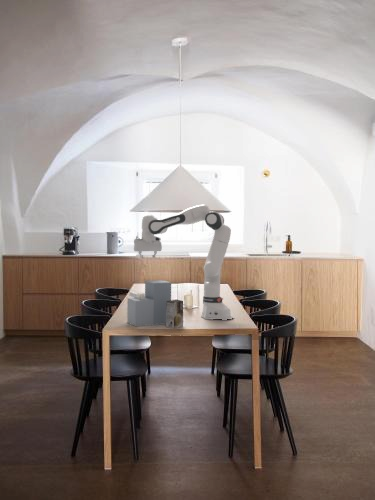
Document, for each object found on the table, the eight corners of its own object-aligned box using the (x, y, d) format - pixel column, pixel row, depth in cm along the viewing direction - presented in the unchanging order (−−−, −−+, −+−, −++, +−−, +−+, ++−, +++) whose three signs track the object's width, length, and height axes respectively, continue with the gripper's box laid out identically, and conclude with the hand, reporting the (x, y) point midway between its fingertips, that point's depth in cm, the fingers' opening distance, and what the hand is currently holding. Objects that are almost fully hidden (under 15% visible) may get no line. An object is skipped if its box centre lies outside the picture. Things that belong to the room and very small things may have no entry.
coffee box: (175, 324, 305) (175, 299, 304) (183, 326, 301) (183, 300, 300) (165, 327, 298) (166, 300, 297) (173, 328, 293) (174, 301, 293)
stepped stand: (127, 322, 311) (127, 281, 310) (161, 319, 322) (162, 280, 321) (135, 326, 298) (135, 283, 297) (170, 323, 310) (171, 282, 308)
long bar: (145, 299, 304) (145, 294, 304) (140, 300, 302) (140, 294, 302) (133, 295, 322) (133, 290, 322) (128, 295, 320) (128, 290, 320)
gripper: (135, 238, 337) (135, 258, 337) (162, 238, 346) (162, 257, 347) (132, 238, 342) (132, 257, 343) (159, 238, 352) (158, 257, 352)
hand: (147, 257), depth 345 cm, fingers open, 8 cm apart
